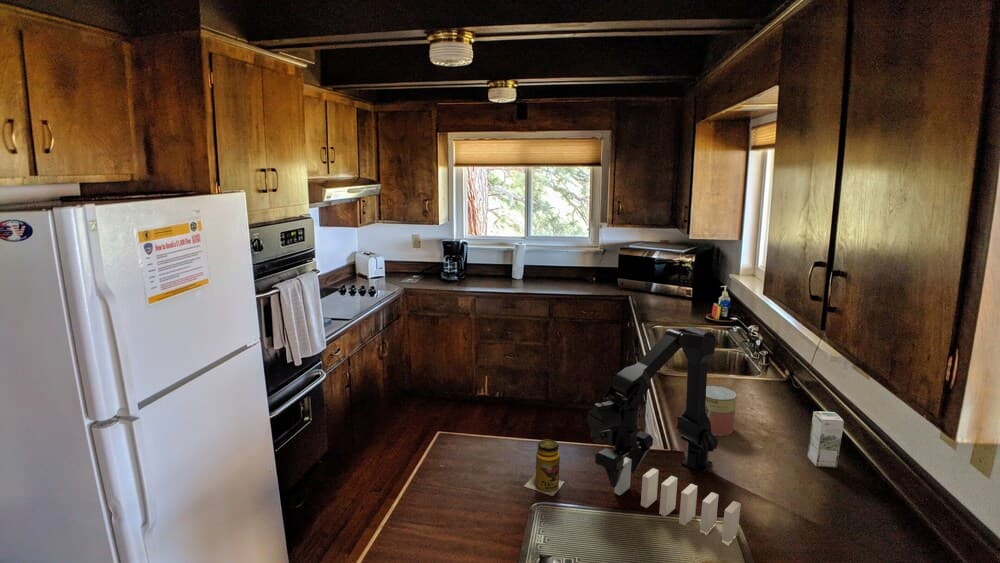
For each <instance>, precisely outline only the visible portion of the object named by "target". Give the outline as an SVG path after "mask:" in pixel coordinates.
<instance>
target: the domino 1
mask: <svg viewBox="0 0 1000 563" xmlns="http://www.w3.org/2000/svg"><path fill="white" fill-rule="evenodd" d="M623 458H624V464H623V466H624V468H623V471H622V473H621V475H620V478H619V480H618V483H617V485H616V487H615V488H614V495H615V494H616V496H617V495H618V496H621V495H623V494H624V493H625V492H626V491H628V490H629V489H630V488H631V477H632V476H631V474H632V473H631V462H632V459H630V458H629V457H627V456H625V457H623Z"/></svg>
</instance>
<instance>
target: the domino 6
mask: <svg viewBox="0 0 1000 563" xmlns="http://www.w3.org/2000/svg"><path fill="white" fill-rule="evenodd" d="M741 505H742V504H741V503H740V502H738V501H735V500H733V501H731V503H730V504H729V505H728V506H727V507H726V508H725V509H724V512H723V513H724V514H723V522H722V532H721V533H722V535H721V541H722V540H724V541H726V542H730V541H731V540H732V539H733V537H734V536H735V535H736V534H737V532H738V533H739V526H740V525H739V523H740V515H741V507H742V506H741Z"/></svg>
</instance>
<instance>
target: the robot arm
mask: <svg viewBox="0 0 1000 563" xmlns="http://www.w3.org/2000/svg"><path fill="white" fill-rule="evenodd" d="M716 343H717V337H716V335H715V334H714V333H713V332H711V331H708V330H706V329H702V328H699V327H695V326H689V327H687V328H669V329H668V328H667V329H666V331H665V333H664V335H663V337H661V338H660V340H659V341H658V342H656V343H655V345H654V346H653V347H651V349H649V350H648V351H647V353H646V354H645V355H643V357H641V359H640V360H638V362H636V363H634V364H633V365H629V366H626V367H624V368H623V369H622V370H620V371H619V372H617V373H616V374H615V375H614V377H613V378H612V381H611V383H610V384H609V386H608V388H607V389H606V392H605V393H604V395H603V397H602V398H603V399H604V400H605V401H603V402H595V403H594V404H593V408H591V409H589V411H588V412H587V416H586V417H587V422H588V426H589V427H590V429H591V432H590V433H591V434H590V438H591V439H592V442H594V443H596V444H600V443H607V446H610V447H614V450H613V449H609V448H608V447H605V448H603V449H602V450H600V451H598V452H597V453H595V454H594V463H595V464H596V465H599V466H601V467H603V469H604V470H605V471H606V475H607V479H608V481H609V484H610V487H612V488H614V489H615V487H616V485H617V483H618V480H619V478H620V475H621V473H622V471H623V468H624V466H623V464H624V458H625V457H626V455H628V454H629V456H628V458H630V459H632V462H631V474H635V473H636V471H637V469H638V468H639V467H640V465H641V463H642V462H643V459H644V458H645V456H646V455H647V453H648V452H649V451H650V449H651V447H653V446H654V437H653V436H652V435H651V434H650V433H647V432H645V431H642V427H641V426H639V412H640V407H642V406H645V405H646V404H647V402H646V401H645V400H644V399H643V396H644V395H645V394H646V393H647V391H648V390H649V388H650V385H651V380H652V379H653V377H654V376H655V375H656V374H657V373H658V372H659V371H660V370H661V369H662V368H663V367H664V366H665V365H666V363H668V362H669V360H670V359H672V357H674V355H676V353H677V352H678V351H679V350H680V349H681V350H682V351H683V354H684V356H685V358H686V360H687V371H686V374H687V375H686V377H687V378H686V401H685V410H684V411H683V412H682V413H681V415H678V416H677V426H676V429H677V431H678V433H679V435H680V439H681V440H682V441H684V442H686V443H687V444H686V445H687V448H686V458H684V459H683V460H682V461H681V463H680V464H681V465H683V466H686V467H689V468H690V469H694V470H696V471H699V472H701V473H704V472H705V471H706V470H707V469H709V468H710V467H711V466H712V465H713V462H712V461H711V460H709V456H710V455H709V453H710V452H711V453H712V452H714V450H715V449H717V447H718V445H719V440H718V439H717V437H716V436H715V435H713V434H712V433H711V422H710V420H709V418H708V416H707V414H706V412H705V405H706V386H707V384H708V383H707V382H708V381H707V380H708V379H707V378H708V362H709V360H710V359H711V358H712V357H713V355H715V350H716ZM616 394H617V395H619V396H621V397H622V398H621V397H619V396H617V395H616Z"/></svg>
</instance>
